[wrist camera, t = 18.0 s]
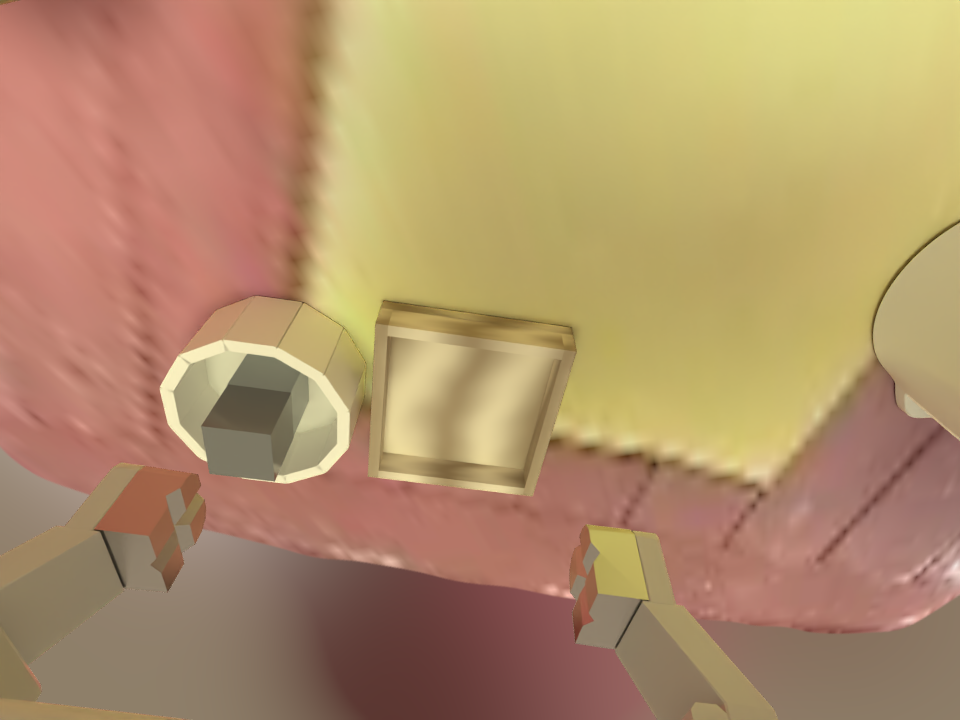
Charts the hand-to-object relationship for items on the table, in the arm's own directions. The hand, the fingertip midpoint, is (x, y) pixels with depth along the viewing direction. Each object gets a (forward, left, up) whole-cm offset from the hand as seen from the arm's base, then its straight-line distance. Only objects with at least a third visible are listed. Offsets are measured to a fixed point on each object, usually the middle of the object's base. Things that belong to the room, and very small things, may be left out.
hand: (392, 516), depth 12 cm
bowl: (+11, +16, -25) cm, 32 cm away
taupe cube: (+11, +16, -24) cm, 31 cm away
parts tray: (-3, +16, -25) cm, 30 cm away
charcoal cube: (+11, +16, -20) cm, 28 cm away
